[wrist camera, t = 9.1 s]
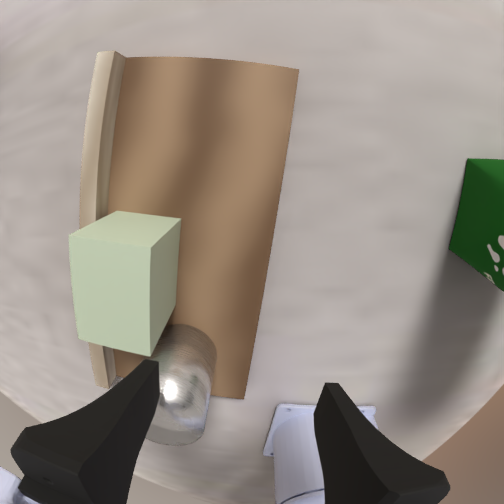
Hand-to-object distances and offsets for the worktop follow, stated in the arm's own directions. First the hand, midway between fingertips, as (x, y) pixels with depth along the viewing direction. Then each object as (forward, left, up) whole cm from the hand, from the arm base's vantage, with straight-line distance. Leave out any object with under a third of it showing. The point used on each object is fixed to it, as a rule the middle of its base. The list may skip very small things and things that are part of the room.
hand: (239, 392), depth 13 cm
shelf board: (+5, -3, -10) cm, 11 cm away
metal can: (+4, +5, -9) cm, 11 cm away
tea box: (+7, -2, -9) cm, 11 cm away
